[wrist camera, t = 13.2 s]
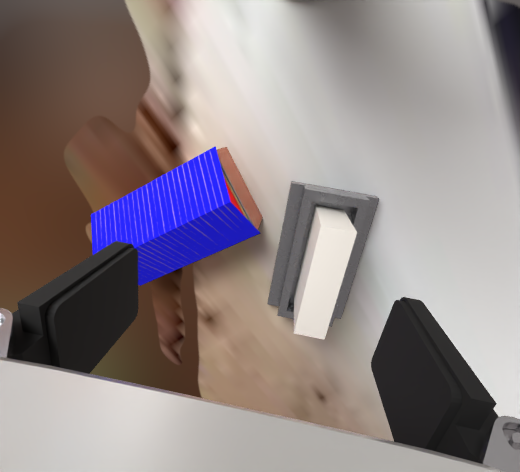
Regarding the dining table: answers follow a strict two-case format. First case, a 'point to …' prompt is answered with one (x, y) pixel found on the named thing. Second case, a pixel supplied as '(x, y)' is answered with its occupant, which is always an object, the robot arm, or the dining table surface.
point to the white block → (322, 270)
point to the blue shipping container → (181, 215)
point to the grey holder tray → (296, 237)
